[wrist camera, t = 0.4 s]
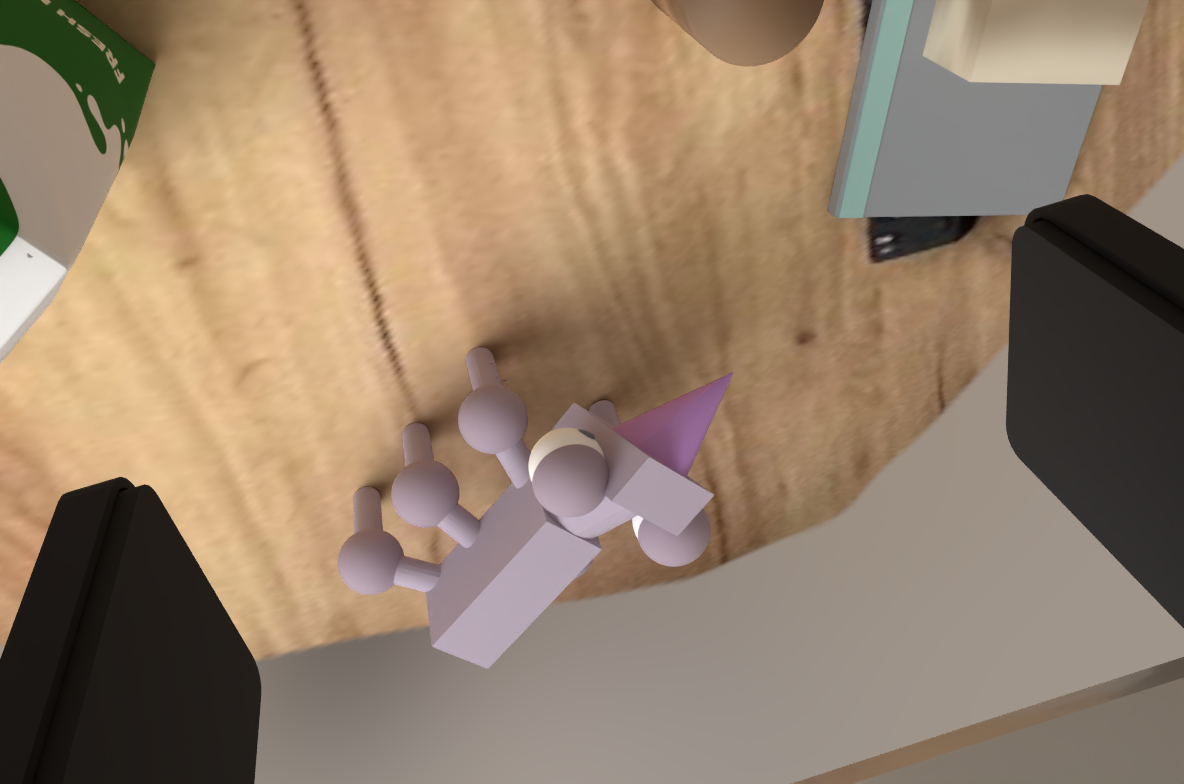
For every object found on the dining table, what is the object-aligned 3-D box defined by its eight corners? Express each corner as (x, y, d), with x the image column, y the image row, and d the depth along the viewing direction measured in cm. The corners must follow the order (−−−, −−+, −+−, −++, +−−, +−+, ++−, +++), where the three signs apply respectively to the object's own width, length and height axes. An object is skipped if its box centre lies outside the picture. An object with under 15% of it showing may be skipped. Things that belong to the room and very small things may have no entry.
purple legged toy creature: (566, 183, 45) (660, 345, 34) (727, 297, 50) (850, 467, 40) (317, 493, 51) (330, 713, 40) (485, 564, 56) (536, 773, 46)
